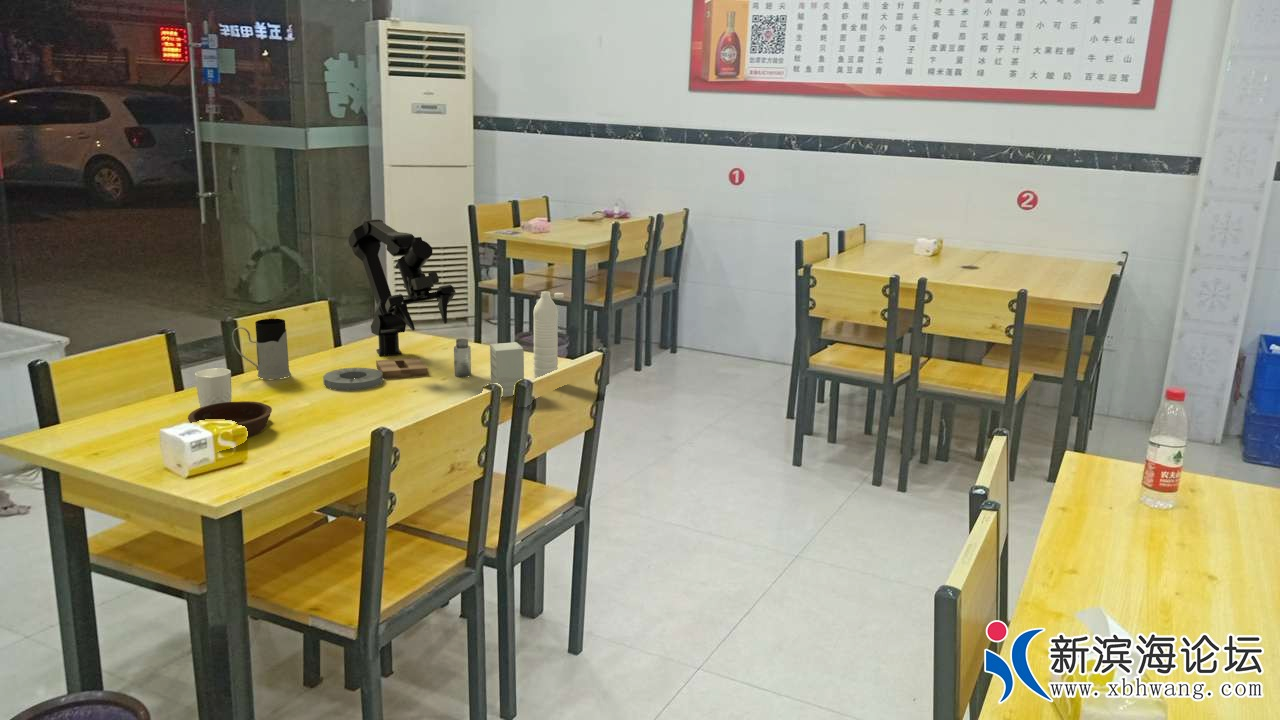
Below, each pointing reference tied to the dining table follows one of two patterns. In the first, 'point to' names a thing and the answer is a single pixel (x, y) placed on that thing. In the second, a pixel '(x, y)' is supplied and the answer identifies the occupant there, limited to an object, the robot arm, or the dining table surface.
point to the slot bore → (395, 371)
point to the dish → (236, 414)
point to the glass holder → (270, 348)
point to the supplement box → (506, 365)
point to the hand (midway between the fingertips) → (430, 326)
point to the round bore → (346, 381)
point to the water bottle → (545, 334)
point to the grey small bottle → (462, 358)
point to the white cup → (213, 386)
